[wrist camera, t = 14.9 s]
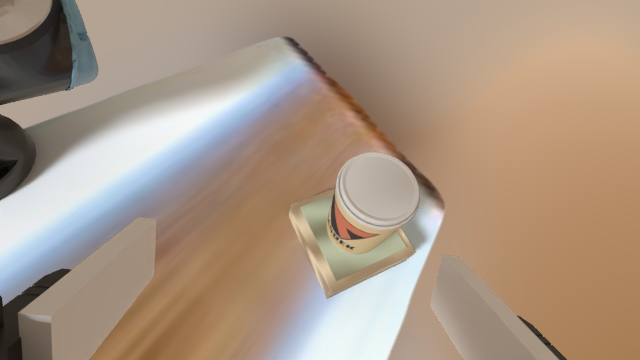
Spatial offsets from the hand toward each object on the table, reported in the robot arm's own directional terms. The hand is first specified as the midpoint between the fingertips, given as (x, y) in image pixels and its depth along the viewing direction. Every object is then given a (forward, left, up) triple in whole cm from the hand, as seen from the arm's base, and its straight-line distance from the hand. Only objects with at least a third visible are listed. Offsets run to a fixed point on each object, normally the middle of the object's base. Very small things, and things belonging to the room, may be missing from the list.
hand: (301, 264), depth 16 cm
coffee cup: (-8, +15, -28) cm, 32 cm away
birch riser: (-8, +15, -32) cm, 36 cm away
